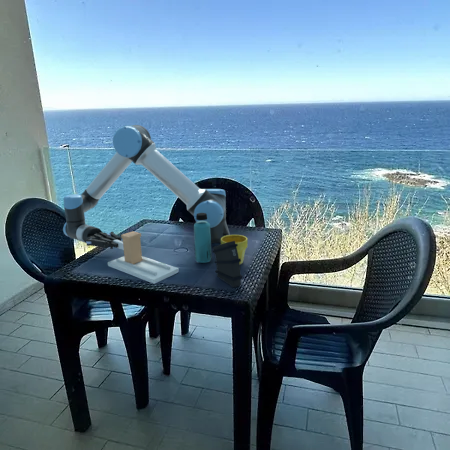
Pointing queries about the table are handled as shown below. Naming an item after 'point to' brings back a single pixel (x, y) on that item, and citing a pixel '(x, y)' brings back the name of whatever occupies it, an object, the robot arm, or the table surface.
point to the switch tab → (132, 247)
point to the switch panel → (145, 269)
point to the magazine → (228, 263)
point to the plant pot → (239, 240)
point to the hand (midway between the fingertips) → (125, 246)
